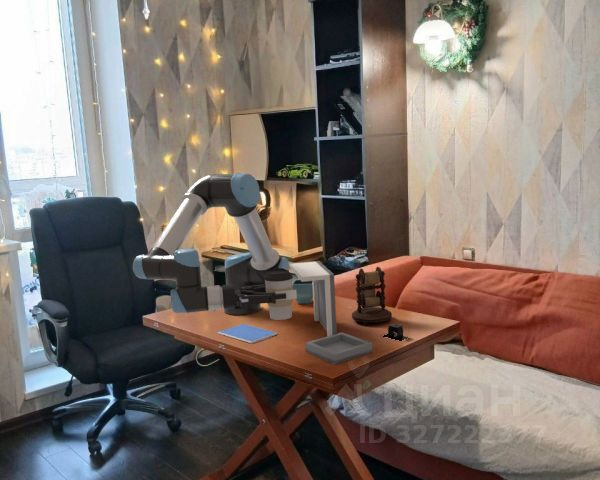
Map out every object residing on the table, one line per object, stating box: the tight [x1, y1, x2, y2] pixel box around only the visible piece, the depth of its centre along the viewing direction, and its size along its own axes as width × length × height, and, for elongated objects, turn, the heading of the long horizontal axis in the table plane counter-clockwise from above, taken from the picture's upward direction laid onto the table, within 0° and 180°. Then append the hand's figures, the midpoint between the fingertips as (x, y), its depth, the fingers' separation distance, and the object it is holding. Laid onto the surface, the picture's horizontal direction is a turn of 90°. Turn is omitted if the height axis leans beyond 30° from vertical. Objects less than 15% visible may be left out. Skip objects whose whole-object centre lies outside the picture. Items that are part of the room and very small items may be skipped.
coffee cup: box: [264, 268, 294, 321], centre depth 184 cm, size 9×9×15 cm
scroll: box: [351, 266, 393, 326], centre depth 216 cm, size 15×15×20 cm
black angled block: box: [382, 323, 409, 342], centre depth 197 cm, size 12×7×5 cm, turn 42°
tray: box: [305, 332, 373, 365], centre depth 186 cm, size 15×15×3 cm
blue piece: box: [217, 323, 278, 344], centre depth 210 cm, size 19×13×1 cm, turn 45°
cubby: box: [289, 260, 338, 337], centre depth 208 cm, size 24×11×22 cm, turn 10°
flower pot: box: [292, 279, 313, 304], centre depth 247 cm, size 9×9×9 cm
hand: (294, 290), depth 185 cm, fingers closed on coffee cup, 8 cm apart
